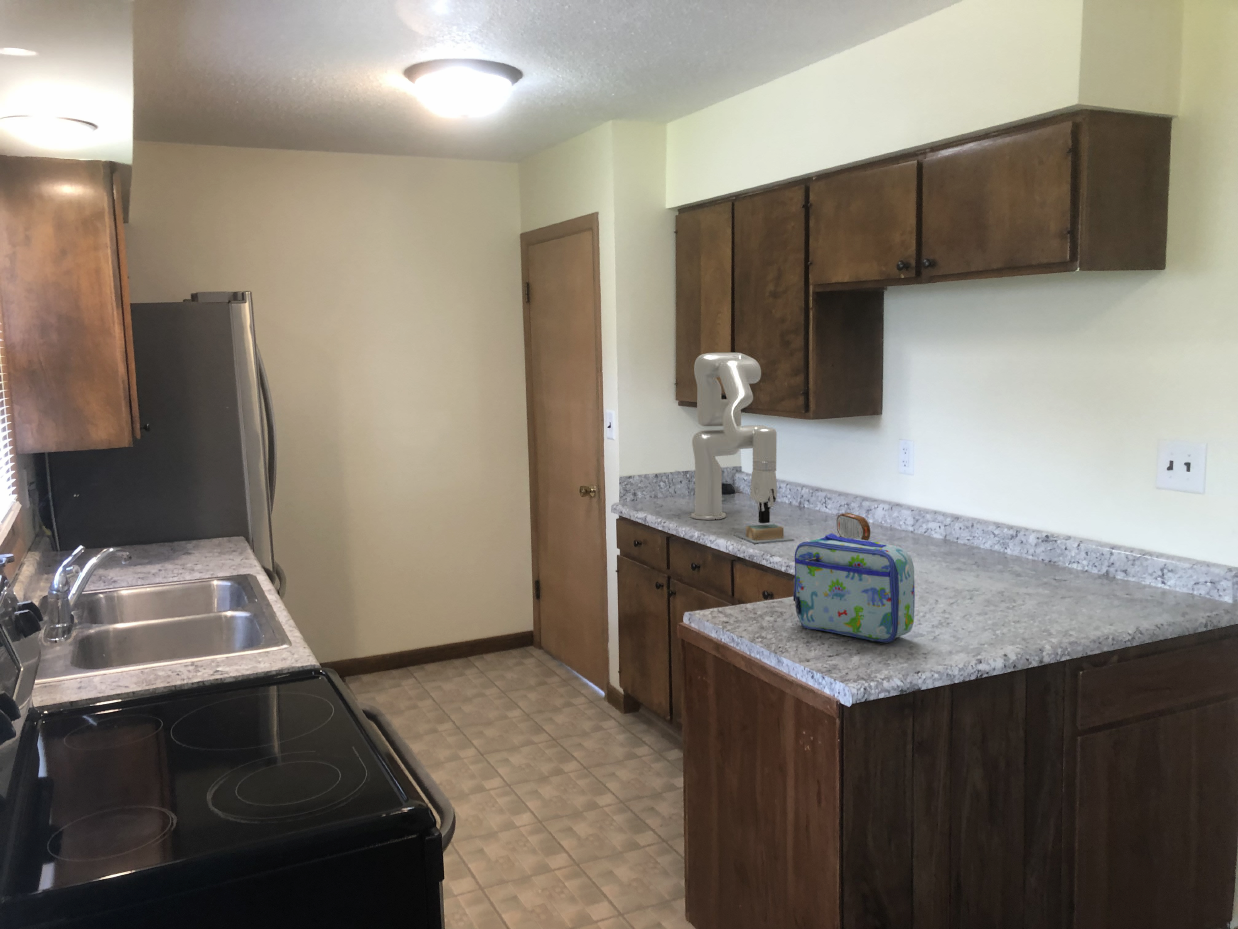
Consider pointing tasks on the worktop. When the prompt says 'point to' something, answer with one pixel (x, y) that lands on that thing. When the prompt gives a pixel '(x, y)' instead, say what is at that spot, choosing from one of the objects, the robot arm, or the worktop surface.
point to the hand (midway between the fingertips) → (764, 522)
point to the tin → (853, 526)
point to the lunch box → (854, 588)
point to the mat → (785, 538)
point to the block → (764, 532)
